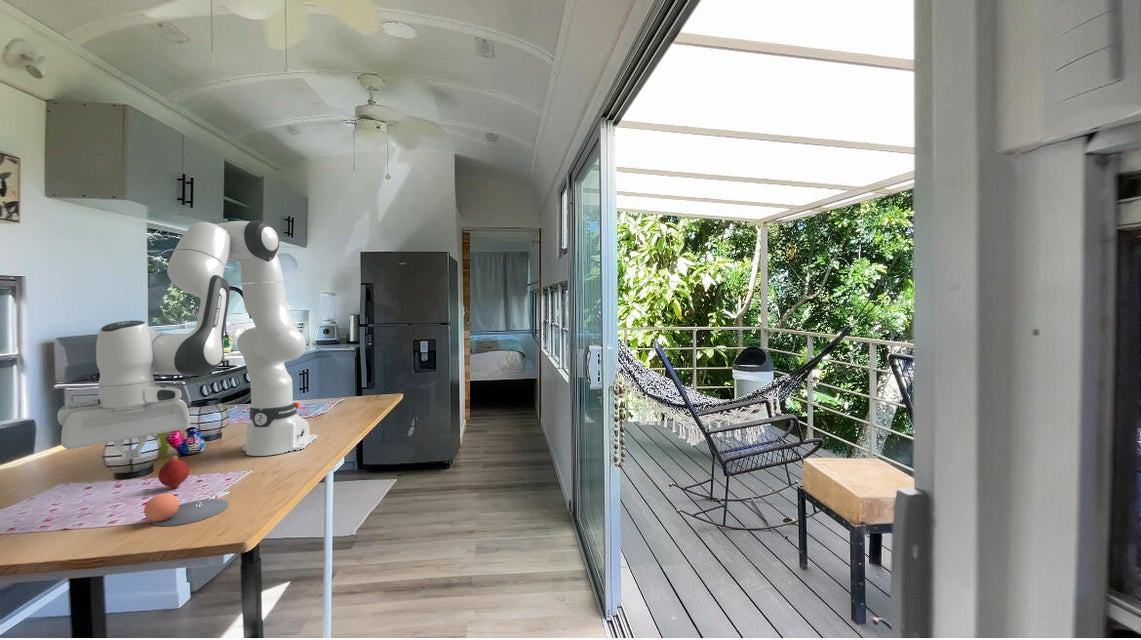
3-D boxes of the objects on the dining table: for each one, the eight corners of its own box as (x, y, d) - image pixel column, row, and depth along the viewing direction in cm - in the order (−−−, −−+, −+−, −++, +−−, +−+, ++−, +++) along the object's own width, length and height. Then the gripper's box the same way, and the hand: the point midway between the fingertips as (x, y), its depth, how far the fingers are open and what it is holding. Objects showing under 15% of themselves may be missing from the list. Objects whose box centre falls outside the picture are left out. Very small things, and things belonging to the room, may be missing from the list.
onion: (171, 493, 112) (170, 460, 111) (152, 491, 113) (151, 459, 113) (195, 484, 117) (194, 453, 117) (177, 482, 118) (176, 451, 118)
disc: (186, 500, 108) (186, 499, 108) (242, 499, 108) (242, 498, 108) (133, 526, 95) (133, 525, 95) (197, 526, 95) (197, 525, 95)
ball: (179, 522, 99) (161, 514, 100) (189, 496, 100) (171, 488, 101) (151, 527, 94) (132, 518, 95) (162, 500, 94) (144, 491, 96)
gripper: (57, 406, 91) (62, 476, 91) (190, 389, 106) (193, 449, 107) (55, 402, 95) (60, 468, 95) (183, 386, 110) (186, 443, 111)
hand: (131, 458), depth 101 cm, fingers closed
